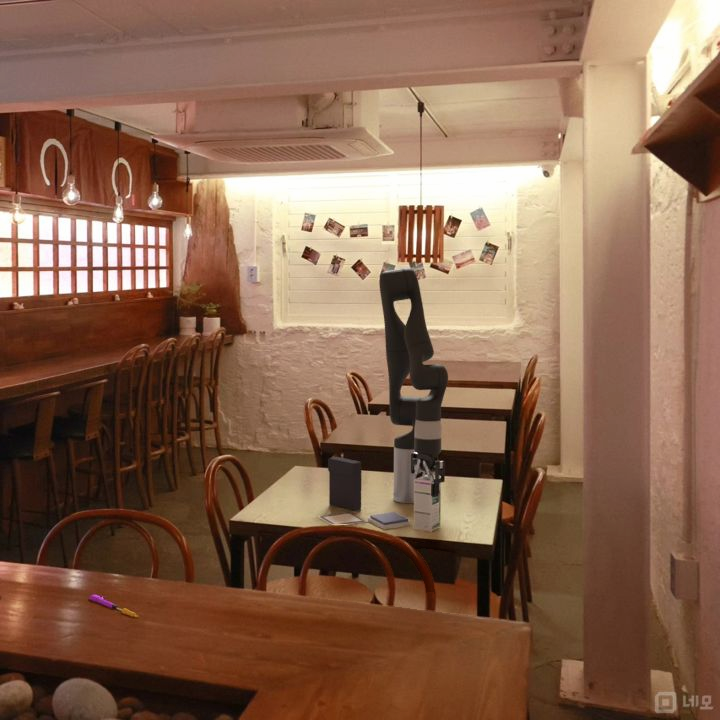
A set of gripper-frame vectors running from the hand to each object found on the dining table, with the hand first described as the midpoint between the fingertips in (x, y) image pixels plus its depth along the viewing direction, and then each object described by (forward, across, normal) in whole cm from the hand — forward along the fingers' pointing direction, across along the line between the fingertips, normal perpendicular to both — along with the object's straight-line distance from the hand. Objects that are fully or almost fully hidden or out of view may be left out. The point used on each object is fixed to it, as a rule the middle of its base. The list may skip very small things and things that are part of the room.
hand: (426, 493), depth 221 cm
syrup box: (+10, 0, 0) cm, 10 cm away
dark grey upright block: (+10, +29, +11) cm, 33 cm away
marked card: (+10, +18, +17) cm, 27 cm away
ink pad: (+10, +9, +7) cm, 15 cm away
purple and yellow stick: (+11, -17, +88) cm, 91 cm away
